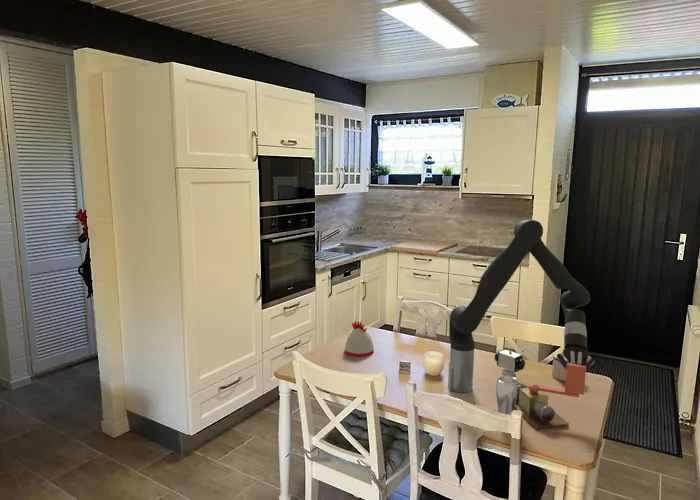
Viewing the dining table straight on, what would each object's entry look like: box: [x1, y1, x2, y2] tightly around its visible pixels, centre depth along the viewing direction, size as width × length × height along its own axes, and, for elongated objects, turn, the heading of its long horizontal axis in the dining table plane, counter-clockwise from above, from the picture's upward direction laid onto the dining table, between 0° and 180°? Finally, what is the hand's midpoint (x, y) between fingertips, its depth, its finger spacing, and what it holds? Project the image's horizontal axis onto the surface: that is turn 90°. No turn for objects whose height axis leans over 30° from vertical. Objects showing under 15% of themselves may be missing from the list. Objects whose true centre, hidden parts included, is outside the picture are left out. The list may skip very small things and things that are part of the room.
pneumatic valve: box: [494, 349, 526, 379], centre depth 203 cm, size 6×12×12 cm, turn 40°
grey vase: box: [495, 375, 519, 414], centre depth 168 cm, size 7×7×15 cm
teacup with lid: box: [551, 350, 570, 382], centre depth 205 cm, size 12×9×12 cm
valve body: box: [514, 383, 570, 431], centre depth 174 cm, size 22×12×9 cm, turn 10°
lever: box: [528, 363, 587, 398], centre depth 169 cm, size 18×4×11 cm, turn 66°
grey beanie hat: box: [344, 320, 375, 358], centre depth 231 cm, size 14×14×15 cm
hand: (575, 381), depth 168 cm, fingers closed
